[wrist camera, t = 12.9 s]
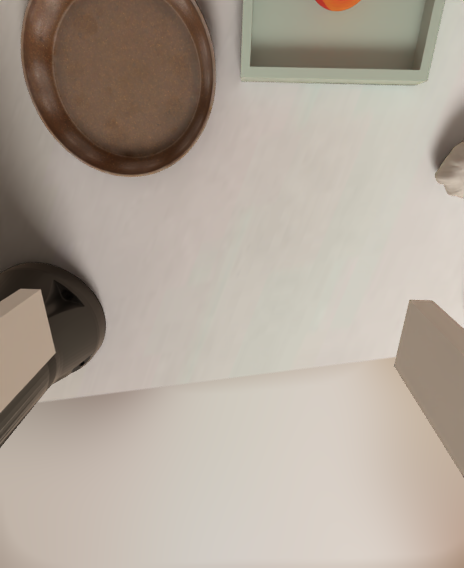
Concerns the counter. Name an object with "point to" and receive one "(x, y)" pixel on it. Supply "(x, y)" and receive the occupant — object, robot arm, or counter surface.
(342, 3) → the paper cup
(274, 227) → the counter surface
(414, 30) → the tray
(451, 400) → the robot arm
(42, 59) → the plant saucer
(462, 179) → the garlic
